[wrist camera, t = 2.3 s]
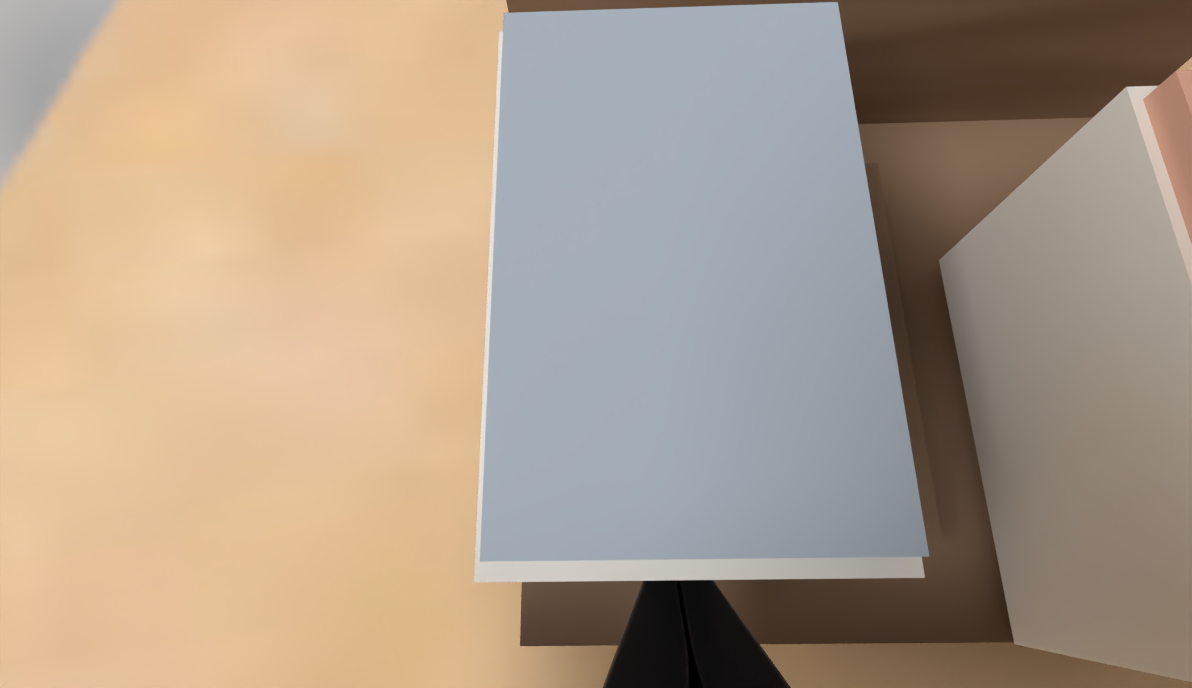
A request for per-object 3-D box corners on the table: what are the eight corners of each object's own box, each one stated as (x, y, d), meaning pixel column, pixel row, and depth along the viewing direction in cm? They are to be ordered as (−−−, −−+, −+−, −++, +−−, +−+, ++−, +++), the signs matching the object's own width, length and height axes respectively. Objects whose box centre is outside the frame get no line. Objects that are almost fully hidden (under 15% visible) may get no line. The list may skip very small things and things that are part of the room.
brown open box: (1116, 618, 15) (1938, 717, 6) (544, 623, 15) (433, 724, 6) (1004, 164, 18) (1384, -223, 9) (550, 175, 19) (489, -186, 10)
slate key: (793, 569, 11) (949, 579, 6) (534, 572, 11) (462, 584, 6) (757, 211, 13) (847, -12, 8) (540, 217, 13) (492, 1, 8)
